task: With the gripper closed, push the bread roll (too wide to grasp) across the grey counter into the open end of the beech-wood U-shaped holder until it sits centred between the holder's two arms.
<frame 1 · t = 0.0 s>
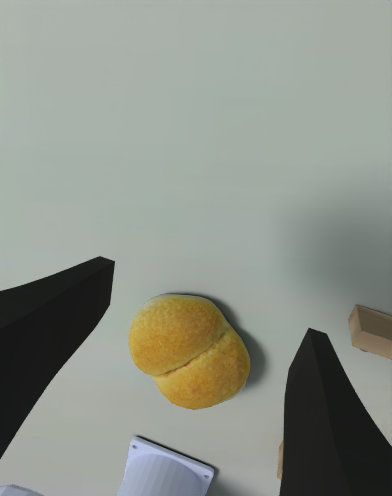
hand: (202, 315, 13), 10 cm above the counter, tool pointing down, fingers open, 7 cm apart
bread roll: (194, 338, 28), on the counter
holder: (384, 412, 25), on the counter
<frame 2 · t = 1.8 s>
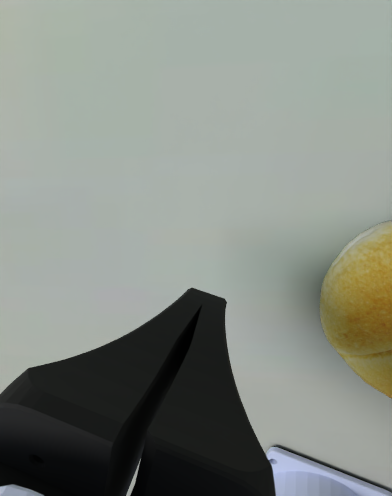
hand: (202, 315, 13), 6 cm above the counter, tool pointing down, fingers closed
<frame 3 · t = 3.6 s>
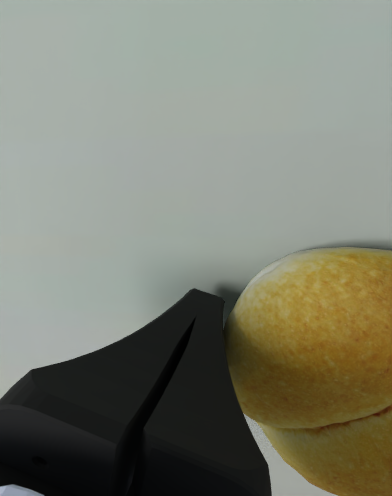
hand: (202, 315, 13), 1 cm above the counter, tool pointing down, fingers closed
bread roll: (349, 346, 14), on the counter
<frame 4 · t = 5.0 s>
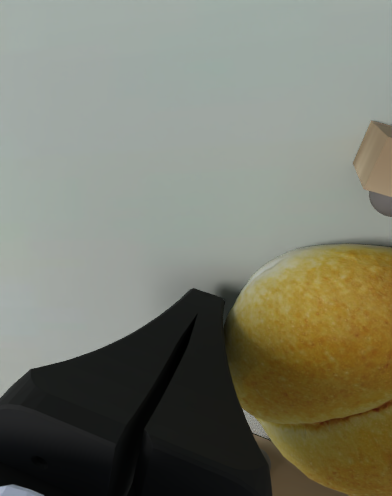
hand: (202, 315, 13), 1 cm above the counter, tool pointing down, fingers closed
bread roll: (348, 343, 14), on the counter, touching gripper
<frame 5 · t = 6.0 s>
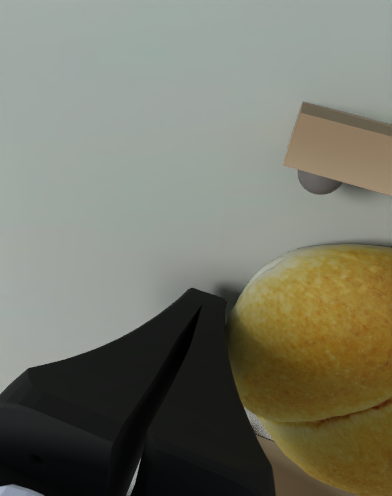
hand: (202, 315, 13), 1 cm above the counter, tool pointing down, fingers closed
bread roll: (348, 342, 14), on the counter
holder: (368, 354, 13), on the counter
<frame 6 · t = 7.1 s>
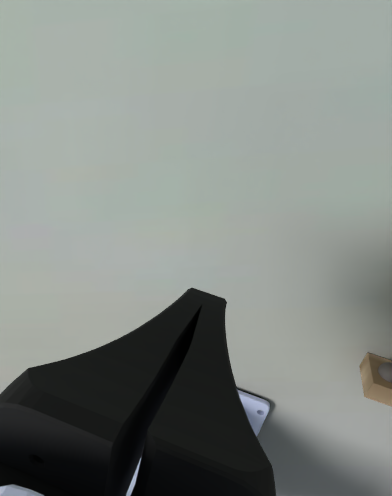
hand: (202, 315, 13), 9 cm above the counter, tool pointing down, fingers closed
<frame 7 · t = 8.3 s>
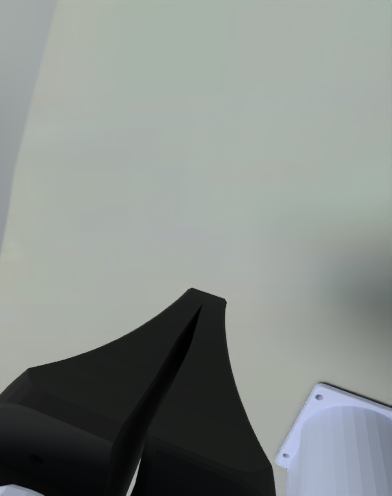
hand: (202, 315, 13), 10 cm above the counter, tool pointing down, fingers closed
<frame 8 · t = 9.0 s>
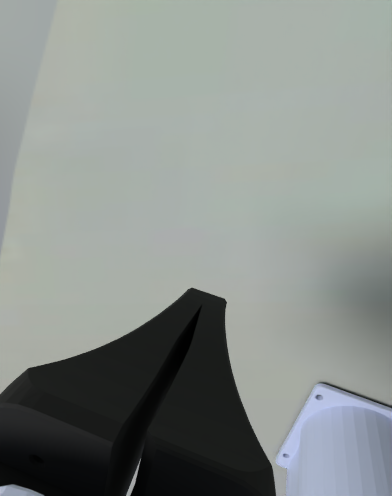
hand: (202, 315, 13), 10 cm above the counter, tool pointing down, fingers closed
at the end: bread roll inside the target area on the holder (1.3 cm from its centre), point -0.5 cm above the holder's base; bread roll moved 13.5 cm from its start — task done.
